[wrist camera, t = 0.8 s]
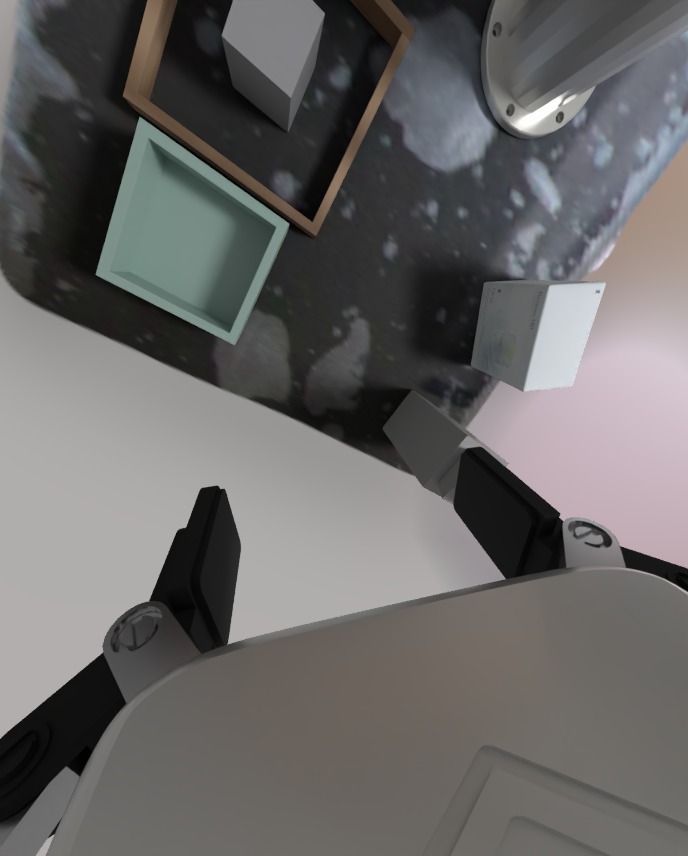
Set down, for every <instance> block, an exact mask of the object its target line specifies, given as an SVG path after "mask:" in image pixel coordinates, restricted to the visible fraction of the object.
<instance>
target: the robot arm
mask: <svg viewBox="0 0 688 856" xmlns="http://www.w3.org/2000/svg"><path fill="white" fill-rule="evenodd" d="M687 30H688V0H492V2H491V4H490V7H489V10H488V14H487V18H486V22H485V26H484V30H483V38H482V46H481V76H482V84H483V89H484V93H485V97H486V100H487V104H488V106H489V108H490V110H491V112H492V114H493V116H494V118H495V119H496V120H497V122H498V123H499V125H500V126H501V127H502V128H503V129H505V130H506V131H507V132H508V133H509V134H512V135H514V136H516V137H518V138H524V139H534V138H540V137H543V136H545V135H547V134H550V133H552V132H554V131H555V130H557V129H559V128H561V127H562V126H564V125H565V124H566V123H567V122H568V121H570V120H571V119H572V118H573V117H574V116H575V115H576V114H577V113H578V111H579V110H580V109H581V108H582V107H583V106H584V104H585V103H586V101H587V100H588V98H589V97H590V95H591V94H592V92H593V90H594V88H595V86H596V85H597V84H599V83H601V82H602V81H604V80H606V79H607V78H609V77H611V76H612V75H614V74H616V73H617V72H619V71H621V70H622V69H624V68H626V67H627V66H629V65H631V64H632V63H634V62H636V61H637V60H639V59H641V58H642V57H644V56H646V55H647V54H649V53H651V52H652V51H654V50H656V49H657V48H659V47H661V46H662V45H664V44H666V43H667V42H669V41H671V40H672V39H674V38H676V37H677V36H679V35H681V34H682V33H684V32H686V31H687ZM453 505H454V509H455V511H456V513H457V514H458V515H459V516H460V518H461V519H462V521H463V522H464V523H465V525H466V526H467V527H468V529H469V530H470V531H471V533H472V534H473V535H474V537H475V538H476V539H477V541H478V542H479V543H480V545H481V546H482V547H483V549H484V550H485V551H486V553H487V554H488V555H489V557H490V558H491V559H492V561H493V562H494V564H495V565H496V566H497V568H498V569H499V570H500V572H501V573H502V574H503V576H504V577H505V578H506V579H505V580H501V581H497V582H492V583H487V584H483V585H478V586H473V587H469V588H464V589H460V590H455V591H451V592H447V593H442V594H437V595H433V596H428V597H424V598H419V599H415V600H410V601H406V602H401V603H397V604H393V605H388V606H384V607H379V608H375V609H371V610H366V611H362V612H357V613H353V614H349V615H344V616H340V617H336V618H332V619H327V620H323V621H318V622H314V623H310V624H305V625H301V626H297V627H293V628H289V629H285V630H281V631H276V632H273V633H269V634H264V635H260V636H256V637H252V638H249V639H245V640H242V641H238V642H235V643H232V644H228V645H227V643H228V638H229V632H230V624H231V617H232V610H233V603H234V595H235V588H236V581H237V573H238V566H239V559H240V552H241V543H240V539H239V536H238V532H237V528H236V525H235V522H234V518H233V515H232V511H231V508H230V504H229V501H228V498H227V494H226V491H225V489H220V488H219V486H212V487H205V488H201V490H200V491H199V494H198V497H197V500H196V502H195V506H194V508H193V511H192V513H191V516H190V519H189V521H188V524H187V527H186V528H183V529H179V530H178V531H177V533H176V535H175V538H174V540H173V543H172V545H171V548H170V550H169V553H168V555H167V558H166V560H165V563H164V565H163V568H162V570H161V573H160V575H159V578H158V580H157V583H156V586H155V588H154V590H153V593H152V595H151V598H150V600H149V602H144V603H141V604H139V605H136V606H135V607H133V608H131V609H130V610H128V611H126V612H125V613H124V614H123V615H122V616H120V617H119V618H118V619H117V620H116V621H115V623H114V624H113V625H112V626H111V627H110V629H109V631H108V632H107V634H106V636H105V639H104V643H103V653H102V654H101V655H100V656H98V657H97V658H96V659H95V660H94V661H92V662H91V663H90V664H89V665H88V666H86V667H85V668H84V669H83V670H82V671H80V672H79V673H78V674H77V675H76V676H74V677H73V678H72V679H71V680H70V681H68V682H67V683H66V684H65V685H64V686H62V687H61V688H60V689H59V690H58V691H56V692H55V693H54V694H53V695H52V696H51V697H49V698H48V699H47V700H46V701H45V702H43V703H42V704H41V705H40V706H38V707H37V708H36V709H35V710H34V711H32V712H31V713H30V714H29V715H28V716H26V718H24V719H23V720H22V721H20V722H19V723H18V724H17V725H15V726H14V727H13V728H12V729H11V730H9V731H8V732H7V733H6V734H5V735H4V736H3V737H2V738H1V739H0V856H35V855H36V854H37V852H38V851H39V850H40V848H41V847H42V845H43V844H44V842H45V841H46V840H47V838H49V837H51V836H52V835H54V834H55V835H54V837H53V840H52V842H51V845H50V847H49V849H48V852H47V854H46V856H688V569H687V568H684V567H681V566H678V565H675V564H672V563H669V562H666V561H663V560H660V559H657V558H654V557H651V556H648V555H645V554H642V553H639V552H636V551H633V550H630V549H627V548H624V547H621V546H620V545H619V542H618V540H617V538H616V537H615V535H614V534H613V533H611V531H609V530H608V529H607V528H605V527H604V526H602V525H600V524H598V523H596V522H594V521H591V520H588V519H583V518H569V519H566V520H565V521H562V520H561V519H560V518H559V516H560V513H559V512H558V511H557V510H556V509H554V508H553V507H552V506H551V505H550V504H549V503H547V502H546V501H545V500H544V499H543V498H542V497H540V496H539V495H538V494H537V493H536V492H534V491H533V490H532V489H531V488H530V487H529V486H527V485H526V484H525V483H524V482H523V481H522V480H520V479H519V478H518V477H517V476H516V475H514V474H513V473H512V472H511V471H510V470H508V469H507V468H506V467H505V466H504V465H503V464H502V463H500V462H499V461H498V460H497V459H496V458H494V457H493V456H492V455H491V454H490V453H489V452H487V451H486V450H485V449H484V448H482V447H472V448H467V449H465V451H464V452H463V453H462V454H461V458H460V465H459V471H458V477H457V483H456V489H455V496H454V502H453Z"/></svg>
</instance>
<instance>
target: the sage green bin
mask: <svg viewBox="0 0 688 856" xmlns="http://www.w3.org/2000/svg"><path fill="white" fill-rule="evenodd" d="M288 227H289V223H288V222H286V221H285V220H283V219H282V218H281V217H279V216H278V215H276V214H275V213H274V212H272V211H271V210H269V209H268V208H267V207H265V206H264V205H262V204H261V203H260V202H258V201H257V200H255V199H254V198H253V197H251V196H250V195H248V194H247V193H246V192H244V191H243V190H241V189H240V188H239V187H237V186H236V185H234V184H233V183H232V182H230V181H229V180H227V179H226V178H225V177H223V176H222V175H220V174H219V173H218V172H216V171H215V170H213V169H212V168H211V167H209V166H208V165H206V164H205V163H204V162H202V161H201V160H199V159H198V158H197V157H195V156H194V155H192V154H191V153H190V152H188V151H187V150H185V149H184V148H183V147H181V146H180V145H179V144H177V143H176V142H174V141H173V140H172V139H170V138H169V137H167V136H166V135H165V134H163V133H162V132H160V131H159V130H158V129H156V128H155V127H153V126H152V125H151V124H149V123H148V122H146V121H145V120H144V119H142V118H141V117H139V121H138V125H137V128H136V132H135V135H134V139H133V143H132V146H131V150H130V153H129V157H128V160H127V164H126V168H125V171H124V175H123V178H122V182H121V186H120V189H119V193H118V196H117V200H116V204H115V207H114V211H113V214H112V218H111V221H110V225H109V229H108V232H107V236H106V239H105V243H104V247H103V250H102V254H101V257H100V261H99V264H98V268H97V272H96V275H97V276H99V277H101V278H103V279H105V280H107V281H109V282H111V283H113V284H115V285H117V286H119V287H121V288H123V289H125V290H127V291H129V292H131V293H133V294H134V295H136V296H138V297H140V298H142V299H144V300H146V301H148V302H150V303H152V304H154V305H156V306H158V307H160V308H162V309H164V310H166V311H168V312H170V313H172V314H174V315H176V316H178V317H180V318H182V319H184V320H186V321H188V322H190V323H192V324H194V325H196V326H198V327H200V328H202V329H204V330H206V331H208V332H210V333H212V334H214V335H216V336H218V337H220V338H222V339H224V340H225V341H227V342H229V343H231V344H233V345H235V344H236V342H237V340H238V339H239V337H240V335H241V333H242V331H243V329H244V327H245V324H246V322H247V320H248V318H249V316H250V313H251V311H252V309H253V307H254V304H255V302H256V300H257V298H258V296H259V293H260V291H261V289H262V287H263V285H264V282H265V280H266V278H267V276H268V274H269V271H270V269H271V267H272V265H273V263H274V260H275V258H276V256H277V254H278V252H279V249H280V247H281V245H282V243H283V241H284V238H285V236H286V234H287V232H288Z"/></svg>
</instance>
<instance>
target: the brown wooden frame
mask: <svg viewBox="0 0 688 856" xmlns="http://www.w3.org/2000/svg"><path fill="white" fill-rule="evenodd" d="M177 1H178V0H148V1H147V5H146V8H145V12H144V16H143V20H142V24H141V28H140V32H139V35H138V39H137V43H136V47H135V51H134V55H133V59H132V62H131V66H130V70H129V74H128V78H127V82H126V86H125V89H124V93H123V97H124V98H125V99H126V100H127V102H128V103H129V104H130V105H131V106H132V108H133V109H134V110H136V111H137V112H138V113H140V114H141V115H143V116H144V117H145V118H147V119H148V120H150V121H151V122H152V123H154V124H155V125H157V126H158V127H159V128H161V129H162V130H163V131H165V132H166V133H168V134H169V135H170V136H172V137H173V138H175V139H176V140H177V141H179V142H180V143H182V144H183V145H184V146H186V147H187V148H189V149H190V150H191V151H193V152H194V153H195V154H197V155H198V156H200V157H201V158H202V159H204V160H205V161H207V162H208V163H209V164H211V165H212V166H214V167H215V168H216V169H218V170H219V171H220V172H222V173H223V174H225V175H226V176H227V177H229V178H230V179H232V180H233V181H234V182H236V183H237V184H239V185H240V186H241V187H243V188H244V189H245V190H247V191H248V192H250V193H251V194H252V195H254V196H255V197H257V198H258V199H259V200H261V201H262V202H264V203H265V204H266V205H268V206H269V207H271V208H272V209H273V210H275V211H276V212H277V213H279V214H280V215H282V216H283V217H284V218H286V219H287V220H289V221H290V222H291V223H293V224H294V225H296V226H297V227H298V228H300V229H301V230H302V231H304V232H305V233H307V234H308V235H309V236H311V237H312V238H315V237H316V235H317V233H318V231H319V229H320V227H321V225H322V223H323V221H324V219H325V217H326V214H327V212H328V210H329V208H330V206H331V204H332V202H333V200H334V198H335V196H336V194H337V192H338V190H339V188H340V186H341V183H342V181H343V179H344V177H345V175H346V173H347V171H348V169H349V167H350V165H351V163H352V161H353V159H354V157H355V154H356V152H357V150H358V148H359V146H360V144H361V142H362V140H363V138H364V136H365V134H366V132H367V130H368V128H369V125H370V123H371V121H372V119H373V117H374V115H375V113H376V111H377V109H378V107H379V105H380V103H381V101H382V99H383V96H384V94H385V92H386V90H387V88H388V86H389V84H390V82H391V80H392V78H393V76H394V74H395V72H396V70H397V68H398V65H399V63H400V61H401V59H402V57H403V55H404V53H405V51H406V49H407V47H408V45H409V43H410V41H411V39H412V36H413V34H414V32H415V29H414V27H413V26H412V25H411V24H410V23H409V21H408V20H407V19H406V18H405V17H404V15H403V14H402V13H401V12H400V10H399V9H398V8H397V7H396V6H395V4H394V3H393V2H392V1H391V0H350V1H351V2H352V3H353V4H354V5H355V6H356V8H357V9H358V10H359V11H360V12H361V13H362V14H363V15H364V17H365V18H366V19H367V20H368V21H369V22H370V23H371V24H372V26H373V27H374V28H375V29H376V30H377V31H378V32H379V34H380V35H381V36H382V37H383V38H384V39H385V40H386V41H387V43H388V44H389V45H390V46H391V47H392V48H393V49H394V50H393V52H392V54H391V57H390V59H389V61H388V63H387V65H386V67H385V69H384V71H383V74H382V76H381V78H380V80H379V82H378V84H377V86H376V88H375V90H374V93H373V95H372V97H371V99H370V101H369V103H368V105H367V107H366V109H365V112H364V114H363V116H362V118H361V120H360V122H359V124H358V126H357V129H356V131H355V133H354V135H353V137H352V139H351V141H350V143H349V145H348V148H347V150H346V152H345V154H344V156H343V158H342V160H341V162H340V164H339V167H338V169H337V171H336V173H335V175H334V177H333V179H332V181H331V183H330V186H329V188H328V190H327V192H326V194H325V196H324V198H323V200H322V203H321V205H320V207H319V209H318V211H317V213H316V215H315V217H314V219H313V222H311V221H310V220H309V219H307V218H306V217H305V216H303V215H302V214H301V213H299V212H298V211H297V210H295V209H294V208H293V207H291V206H290V205H289V204H287V203H286V202H285V201H283V200H282V199H280V198H279V197H278V196H276V195H275V194H274V193H272V192H271V191H270V190H268V189H267V188H266V187H264V186H263V185H262V184H260V183H259V182H258V181H256V180H255V179H254V178H252V177H251V176H249V175H248V174H247V173H245V172H244V171H243V170H241V169H240V168H239V167H237V166H236V165H235V164H233V163H232V162H231V161H229V160H228V159H227V158H225V157H224V156H223V155H221V154H220V153H218V152H217V151H216V150H214V149H213V148H212V147H210V146H209V145H208V144H206V143H205V142H204V141H202V140H201V139H200V138H198V137H197V136H196V135H194V134H193V133H192V132H190V131H189V130H187V129H186V128H185V127H183V126H182V125H181V124H179V123H178V122H177V121H175V120H174V119H173V118H171V117H170V116H169V115H167V114H166V113H165V112H163V111H162V110H161V109H159V108H158V107H156V106H155V105H154V104H152V103H151V102H150V101H149V100H150V96H151V93H152V89H153V86H154V82H155V79H156V75H157V72H158V68H159V65H160V61H161V58H162V54H163V51H164V47H165V43H166V40H167V36H168V33H169V29H170V26H171V22H172V19H173V15H174V12H175V8H176V5H177Z"/></svg>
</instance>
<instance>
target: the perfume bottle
mask: <svg viewBox="0 0 688 856" xmlns="http://www.w3.org/2000/svg"><path fill="white" fill-rule="evenodd" d="M382 429H383V431H384V432H385V433H386V435H387V436H388V438H389V439H390V441H391V442H392V443H393V445H394V446H395V448H396V449H397V451H398V452H399V453H400V455H401V456H402V458H403V459H404V461H405V462H406V463H407V465H408V466H409V468H410V469H411V471H412V472H413V473H414V475H415V476H416V478H417V479H418V481H419V482H420V483H421V485H422V486H423V487H424V488H426V489H428V490H430V491H432V492H434V493H436V494H437V495H439V496H441V497H442V499H444V500H446V501H448V502H450V503H452V504H453V502H454V496H455V489H456V483H457V477H458V471H459V465H460V458H461V454H462V453H463V452H464V451H465V449H467V448H472V447H482V448H484V449H485V450H486V451H487V452H489V453H490V454H491V455H492V456H493V457H494V458H496V459H497V460H498V461H499V462H500V463H502V464H503V465H504V466H505V467H506V466H507V465H508V462H506V461H505V460H504V459H502V458H501V457H500V456H499V455H497V454H496V453H495V452H494V451H492V450H491V449H490V448H489V447H487V446H486V445H485V444H484V443H482V442H481V441H480V440H479V439H477V438H476V437H475V436H474V435H472V434H471V433H470V432H469V431H467V430H466V429H465V428H464V427H462V426H461V425H460V424H459V423H457V422H456V421H455V420H454V419H452V418H451V417H450V416H449V415H447V414H446V413H445V412H443V411H442V410H441V409H439V408H438V407H436V406H435V405H433V404H432V403H431V402H429V401H428V400H426V399H425V398H423V397H422V396H421V395H419V394H418V393H416V392H415V391H413V390H411V391H410V393H409V394H408V395H407V397H406V398H405V399H404V400H403V402H402V403H401V404H400V406H399V407H398V408H397V410H396V411H395V412H394V413H393V415H392V416H391V417H390V419H389V420H388V421H387V423H386V424H385V425H384V427H383V428H382Z"/></svg>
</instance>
